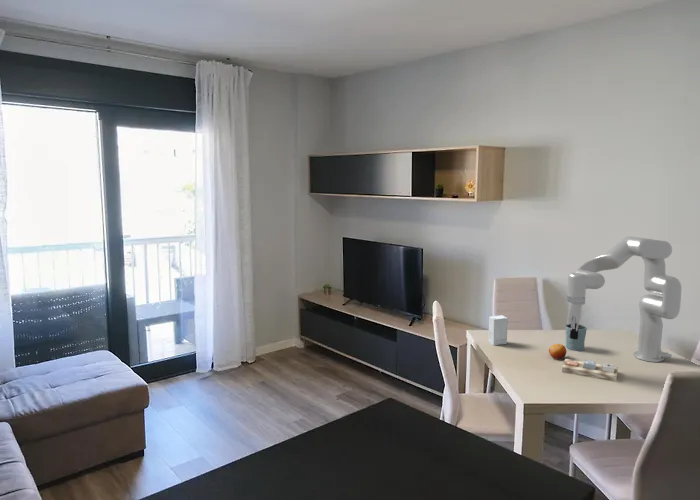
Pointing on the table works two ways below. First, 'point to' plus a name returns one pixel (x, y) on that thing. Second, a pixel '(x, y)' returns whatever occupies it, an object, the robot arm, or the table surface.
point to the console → (589, 371)
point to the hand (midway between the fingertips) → (573, 338)
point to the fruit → (557, 351)
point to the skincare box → (498, 330)
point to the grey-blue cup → (576, 343)
